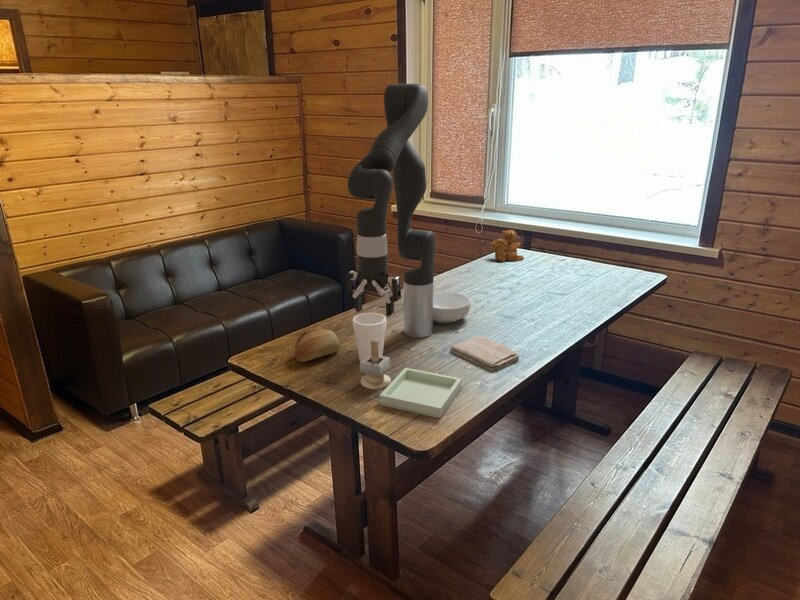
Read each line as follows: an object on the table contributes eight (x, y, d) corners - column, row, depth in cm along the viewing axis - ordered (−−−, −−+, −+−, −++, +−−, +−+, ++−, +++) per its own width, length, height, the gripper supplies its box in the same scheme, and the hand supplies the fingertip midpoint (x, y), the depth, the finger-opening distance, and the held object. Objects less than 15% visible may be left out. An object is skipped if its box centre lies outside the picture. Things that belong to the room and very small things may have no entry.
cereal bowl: (467, 330, 186) (468, 310, 184) (416, 326, 190) (416, 306, 187) (472, 311, 202) (472, 292, 200) (424, 308, 205) (424, 289, 203)
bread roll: (286, 358, 169) (284, 333, 166) (327, 343, 178) (326, 319, 176) (305, 369, 162) (304, 343, 159) (347, 352, 172) (346, 328, 169)
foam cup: (347, 360, 167) (345, 318, 162) (371, 350, 173) (370, 310, 168) (369, 371, 161) (368, 328, 156) (393, 360, 167) (393, 318, 162)
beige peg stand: (369, 372, 160) (367, 332, 155) (395, 378, 157) (395, 337, 152) (355, 386, 153) (353, 344, 149) (382, 391, 150) (382, 349, 146)
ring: (370, 362, 157) (370, 353, 156) (390, 365, 155) (390, 357, 154) (360, 371, 152) (359, 362, 151) (380, 375, 150) (380, 367, 149)
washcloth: (494, 373, 160) (495, 363, 158) (447, 352, 172) (448, 343, 171) (521, 360, 167) (522, 351, 166) (475, 341, 180) (475, 332, 178)
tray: (405, 376, 157) (405, 367, 157) (461, 387, 151) (462, 378, 150) (379, 404, 144) (379, 395, 143) (440, 418, 138) (440, 408, 137)
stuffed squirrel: (525, 259, 260) (527, 231, 255) (501, 264, 253) (503, 235, 248) (510, 254, 268) (511, 226, 263) (486, 259, 261) (487, 230, 256)
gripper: (405, 250, 143) (405, 312, 148) (353, 245, 148) (356, 304, 154) (392, 258, 136) (393, 322, 142) (339, 252, 142) (342, 314, 147)
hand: (373, 313), depth 148 cm, fingers open, 8 cm apart
